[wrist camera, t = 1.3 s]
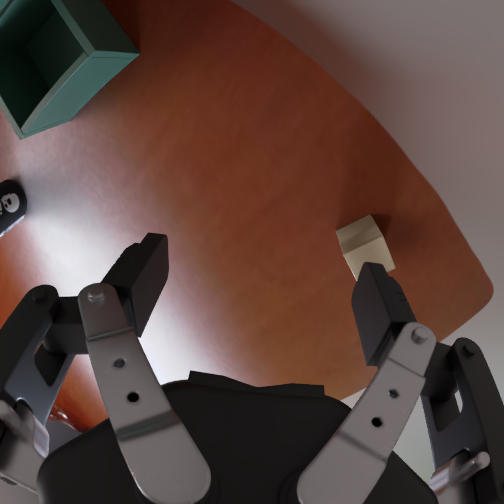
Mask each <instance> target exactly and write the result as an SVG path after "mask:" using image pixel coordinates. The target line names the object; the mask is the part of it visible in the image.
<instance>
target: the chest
mask: <svg viewBox="0 0 504 504" xmlns="http://www.w3.org/2000/svg"><path fill="white" fill-rule="evenodd" d="M139 55H140V53H139V51H138V50H137V48H136V47H135V46H134V44H133V43H132V42H131V40H130V39H129V38H128V36H127V35H126V33H125V32H124V31H123V29H122V28H121V27H120V25H119V24H118V23H117V21H116V20H115V19H114V17H113V16H112V15H111V13H110V12H109V11H108V9H107V8H106V7H105V5H104V4H103V3H102V1H101V0H9V1H8V3H7V4H6V5H5V7H4V8H3V9H2V11H1V12H0V107H1V108H2V110H3V112H4V114H5V116H6V117H7V119H8V121H9V122H10V124H11V126H12V127H13V129H14V131H15V132H16V134H17V136H18V137H19V139H20V140H22V139H24V138H27V137H29V136H31V135H34V134H36V133H39V132H42V131H44V130H47V129H49V128H52V127H55V126H58V125H61V124H63V123H66V122H69V121H70V120H71V119H72V118H73V117H74V116H75V115H76V114H77V113H78V112H79V111H80V110H81V109H82V108H83V107H84V105H85V104H86V103H87V102H88V101H89V100H90V99H91V98H92V97H93V96H94V95H95V94H96V93H97V92H98V91H99V90H100V89H102V88H103V87H104V86H105V85H106V84H107V83H108V82H109V81H110V80H111V79H112V78H113V77H114V76H115V75H117V74H118V73H119V72H120V71H121V70H122V69H123V68H125V67H126V66H127V65H128V64H129V63H130V62H131V61H133V60H134V59H135V58H136V57H137V56H139Z"/></svg>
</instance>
